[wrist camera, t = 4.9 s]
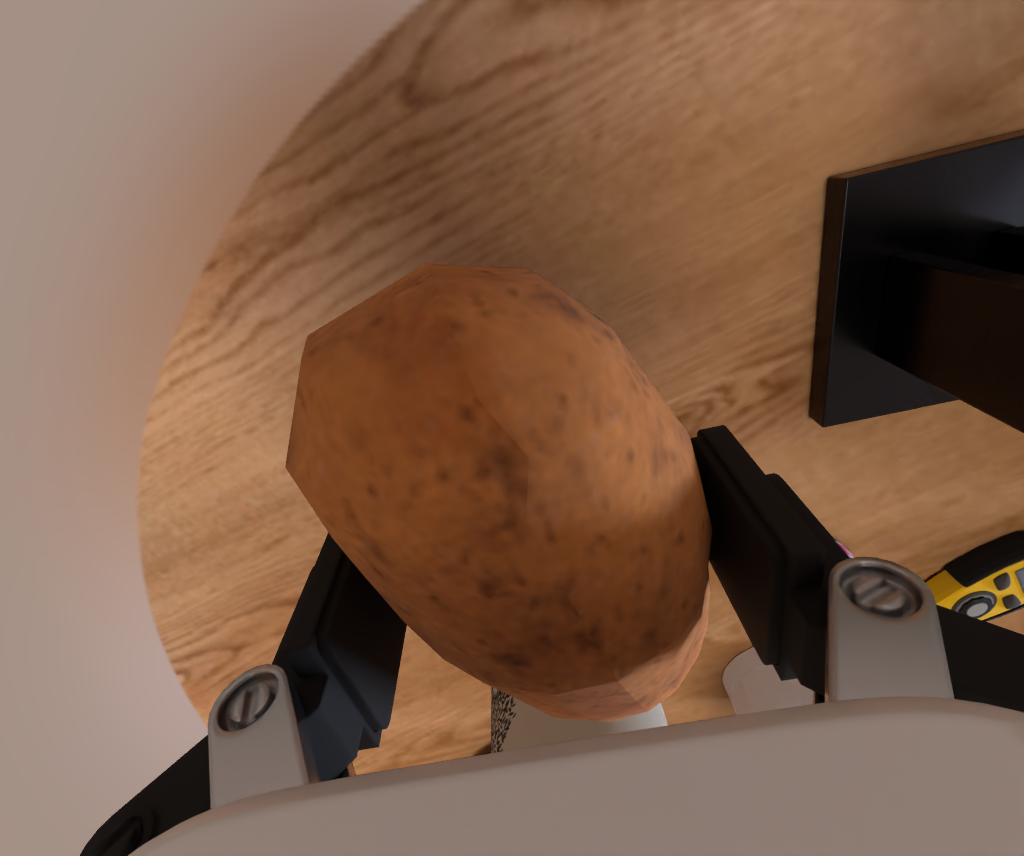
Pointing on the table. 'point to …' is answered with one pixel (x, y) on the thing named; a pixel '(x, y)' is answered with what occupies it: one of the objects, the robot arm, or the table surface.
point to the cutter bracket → (924, 286)
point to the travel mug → (553, 724)
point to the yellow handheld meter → (984, 580)
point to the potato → (509, 487)
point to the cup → (760, 686)
